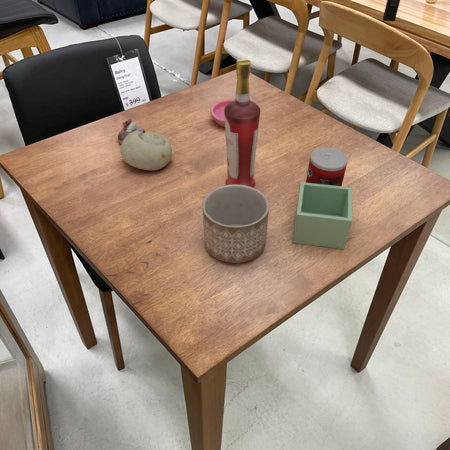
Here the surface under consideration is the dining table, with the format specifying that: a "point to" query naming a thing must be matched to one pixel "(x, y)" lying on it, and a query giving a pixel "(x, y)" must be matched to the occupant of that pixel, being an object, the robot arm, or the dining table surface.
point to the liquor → (241, 130)
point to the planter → (235, 222)
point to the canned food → (327, 167)
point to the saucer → (220, 111)
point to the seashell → (146, 150)
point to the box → (323, 215)
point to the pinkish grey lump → (128, 130)
